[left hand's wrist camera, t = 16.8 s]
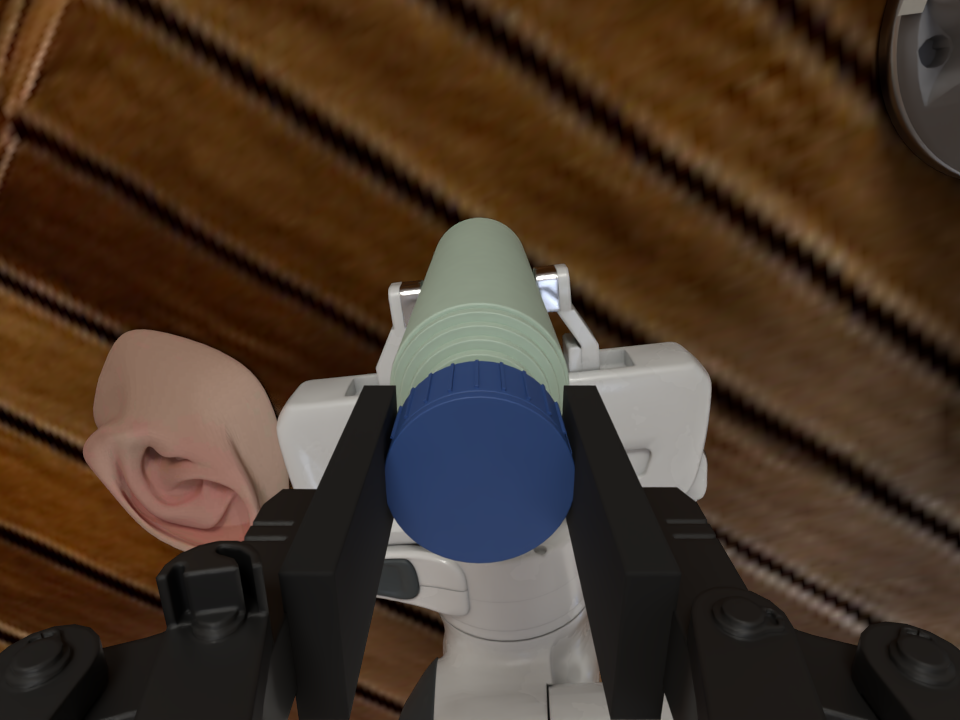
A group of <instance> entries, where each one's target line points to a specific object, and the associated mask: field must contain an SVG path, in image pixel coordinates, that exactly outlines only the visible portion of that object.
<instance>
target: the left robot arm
mask: <svg viewBox="0 0 960 720" xmlns="http://www.w3.org/2000/svg"><path fill="white" fill-rule="evenodd" d="M878 66H879V79H880V85H881V91H882V96H883V99H884V103H885V106H886V109H887V112H888V114H889V117H890V119H891V122H892V124H893V125H894V127H895V129H896V131H897V133H898V134H899V136H900V137H901V138H902V140H903V141H904V143H905V144H906V145H907V146H908V147H909V148H910V149H911V151H912V152H913V153H914V154H915V155H916V156H918V157H919V158H920V159H921V160H922V161H924V162H925V163H926V164H928V165H929V166H931V167H933V168H934V169H936V170H938V171H940V172H942V173H944V174H946V175H948V176H951V177H954V178H957V179H960V0H888V1H887V4H886V8H885V11H884V16H883V21H882V26H881V31H880V40H879V57H878ZM396 416H397V395H396V385H364V386H363V389H362V391H361V393H360V395H359V397H358V399H357V402H356V404H355V406H354V408H353V410H352V413H351V415H350V417H349V419H348V421H347V424H346V426H345V428H344V430H343V432H342V435H341V437H340V439H339V441H338V443H337V446H336V448H335V450H334V452H333V454H332V456H331V459H330V461H329V463H328V465H327V467H326V470H325V472H324V474H323V476H322V478H321V481H320V483H319V485H318V487H317V489H282V490H281V491H280V492H278V493H277V494H276V495H274V496H273V497H272V498H271V499H269V500H268V501H267V502H266V503H264V504H263V506H262V507H261V509H260V511H259V512H258V514H257V516H256V518H255V519H254V521H253V526H250V528H249V530H248V531H247V533H246V535H245V536H244V541H242V542H240V541H215V542H211V543H206V544H202V545H198V546H196V547H194V548H192V549H189V550H187V551H185V552H183V553H181V554H179V555H178V556H177V557H175V558H174V559H172V560H171V561H170V562H168V563H167V564H166V565H165V566H164V567H163V569H162V570H161V571H160V573H159V574H158V576H157V577H156V581H157V585H158V590H159V594H160V598H161V603H162V607H163V612H164V616H165V620H166V625H167V629H166V631H165V632H163V633H160V634H157V635H153V636H150V637H147V638H143V639H139V640H135V641H131V642H127V643H122V644H118V645H114V646H110V647H106V648H102V644H101V641H100V637H99V636H98V635H97V634H96V633H95V632H94V631H93V630H92V629H91V628H90V627H85V626H80V625H76V624H73V625H63V626H54V627H51V628H48V629H45V630H42V631H39V632H36V633H33V634H31V635H29V636H27V637H25V638H23V639H21V640H20V641H18V642H16V643H14V644H12V645H10V646H9V647H7V648H6V649H5V650H4V651H2V652H1V653H0V720H287V719H288V716H289V713H290V710H291V707H292V704H293V701H294V698H295V695H296V702H297V709H298V716H299V720H349V718H350V713H351V709H352V704H353V700H354V695H355V691H356V686H357V682H358V677H359V673H360V668H361V664H362V659H363V655H364V650H365V646H366V641H367V637H368V632H369V628H370V623H371V619H372V614H373V610H374V605H375V601H376V596H377V592H378V587H379V583H380V578H381V574H382V569H383V565H384V560H385V556H386V551H387V547H388V542H389V538H390V533H391V529H392V524H393V520H394V517H393V515H392V514H391V511H390V509H389V507H388V504H387V496H386V480H385V461H386V457H387V454H388V450H389V447H390V443H391V440H392V439H390V436H391V433H392V429H393V426H394V423H395V419H396ZM562 418H563V422H564V425H565V429H566V432H567V437H568V440H569V444H570V447H571V451H572V457H573V461H574V465H575V474H574V490H573V501H572V505H571V507H570V509H569V512H568V514H567V516H566V521H567V526H568V530H569V535H570V539H571V544H572V548H573V553H574V557H575V562H576V566H577V571H578V575H579V580H580V584H581V589H582V593H583V598H584V602H585V607H586V611H587V616H588V620H589V625H590V629H591V634H592V638H593V643H594V647H595V652H596V656H597V661H598V666H599V670H600V675H601V679H602V684H603V688H604V693H605V697H606V702H607V706H608V711H609V715H610V720H661V714H662V707H663V700H664V693H665V696H666V699H667V702H668V705H669V708H670V711H671V714H672V717H673V720H960V650H959V649H958V648H956V647H955V646H954V645H953V644H951V643H949V642H948V641H946V640H944V639H942V638H940V637H938V636H937V635H935V634H933V633H931V632H929V631H926V630H923V629H920V628H917V627H914V626H911V625H908V624H902V623H893V622H882V623H877V624H872V625H869V626H868V627H867V628H866V629H865V630H864V631H863V632H862V633H861V636H860V639H859V643H858V646H857V645H852V644H848V643H844V642H840V641H835V640H831V639H827V638H823V637H819V636H814V635H811V634H808V633H805V632H802V631H798V630H796V629H794V628H793V626H792V624H791V623H790V621H789V620H788V618H787V616H786V615H785V613H784V612H783V611H782V610H780V609H779V608H778V607H777V606H776V605H774V604H773V603H772V602H771V601H770V600H768V599H766V598H764V597H762V596H760V595H758V594H756V593H754V592H752V591H748V589H747V588H746V586H745V584H744V582H743V581H742V579H741V577H740V576H739V574H738V572H737V570H736V569H735V567H734V565H733V564H732V562H731V560H730V559H729V557H728V555H727V553H726V552H725V550H724V548H723V547H722V545H721V543H720V541H719V540H718V539H716V535H715V533H714V531H713V529H712V528H711V526H710V524H707V519H706V517H705V516H704V514H703V512H702V511H701V509H700V507H699V505H698V504H697V502H696V501H694V500H693V499H692V498H690V497H689V496H688V495H687V494H685V493H684V492H683V491H681V490H680V489H679V488H678V487H642V486H641V484H640V481H639V479H638V477H637V475H636V473H635V470H634V468H633V466H632V464H631V462H630V460H629V457H628V455H627V453H626V451H625V449H624V446H623V444H622V442H621V440H620V438H619V435H618V433H617V431H616V429H615V427H614V424H613V422H612V420H611V418H610V416H609V413H608V411H607V409H606V407H605V405H604V402H603V400H602V398H601V396H600V394H599V392H598V389H597V387H596V385H564V388H563V408H562Z"/></svg>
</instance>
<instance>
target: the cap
mask: <svg viewBox="0 0 960 720" xmlns="http://www.w3.org/2000/svg"><path fill="white" fill-rule="evenodd" d="M390 439H392V440H391V443H390V447H389V450H388V454H387V457H386V461H385V480H386V496H387V504H388V507H389V509H390V511H391V514H392V515H393V517H394V519H395V520H396V522H397V524H398V525H399V526H400V527H401V529H402V530H403V531H404V532H405V533H406V534H407V535H408V536H409V537H410V538H411V539H412V540H413V541H415V542H416V543H417V544H419V545H420V546H422V547H423V548H425V549H427V550H428V551H430V552H432V553H434V554H437V555H439V556H441V557H444V558H447V559H451V560H454V561H460V562H465V563H493V562H500V561H504V560H508V559H512V558H515V557H518V556H520V555H523V554H525V553H527V552H529V551H531V550H533V549H535V548H536V547H537V546H539V545H540V544H542V543H543V542H545V541H546V540H547V539H548V538H549V537H550V536H551V535H552V534H553V533H554V532H555V531H556V530H557V529H558V528H559V526H560V525H561V524H562V522H563V521H564V519H565V518H566V516H567V514H568V512H569V509H570V507H571V505H572V501H573V490H574V474H575V465H574V461H573V457H572V451H571V447H570V444H569V440H568V437H567V432H566V429H565V425H564V422H563V418H562V415H561V411H560V408H559V404H558V402H557V401H556V402H554V400H553V399H552V397H551V396H550V394H549V393H548V392H547V391H546V388H545V385H544V384H542V385H541V384H540V383H539V382H537V381H536V380H535V379H534V378H532V377H531V376H529V375H528V374H526V371H524V370H523V371H521V370H519V369H516V368H514V367H511V366H508V365H505V364H504V363H503V362H500V363H496V362H490V361H479V360H475V361H469V362H463V363H457V364H454V363H452V364H451V366H448V367H445V368H443V369H441V370H438V371H436V372H435V373H433V374H432V373H430V374H429V375H428V377H427V378H426V379H424V380H423V381H422V382H421V383H419V384H418V385H417V386H416V387H415V388H414V387H413V388H412V389H411V391H410V395H409V396H408V397H407V399H406V400H405V402H404V404H403V406H399V409H398V412H397V416H396V419H395V423H394V426H393V429H392V433H391V436H390Z"/></svg>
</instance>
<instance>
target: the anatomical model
mask: <svg viewBox="0 0 960 720" xmlns="http://www.w3.org/2000/svg"><path fill="white" fill-rule="evenodd" d="M93 413H94V419H95V423H96V425H97V427H98V430H96V431H95V432H94V433H93V434H92V435H91V436H90V437H89V438H88V439H87V441H86V443H85V445H84V448H83V455H84V458H85V460H86V462H87V464H88V465H89V466H90V468H91V469H92V470H93V472H94V473H95V474H96V475H97V476H98V478H99V479H100V480H101V481H102V482H103V484H104V485H105V486H106V487H107V488H108V490H109V491H110V492H111V493H112V495H113V496H114V497H115V498H116V499H117V501H118V502H119V503H120V504H121V505H122V506H123V508H124V509H125V510H126V511H127V512H128V513H129V514H130V516H131V517H132V518H133V519H134V520H135V521H136V522H137V523H138V524H139V525H141V526H142V527H143V528H144V529H145V530H147V531H148V532H149V533H150V534H152V535H153V536H155V537H156V538H158V539H159V540H161V541H163V542H165V543H167V544H169V545H171V546H173V547H175V548H177V549H180V550H182V551H187V550H189V549H192V548H194V547H196V546H198V545H202V544H206V543H211V542H215V541H240V542H242V541H244V536H245V535H246V533H247V531H248V530H249V528H250V526H253V521H254V519H255V518H256V516H257V514H258V512H259V511H260V509H261V507H262V506H263V504H264V503H266V502H267V501H268V500H269V499H271V498H272V497H273V496H274V495H276V494H277V493H278V492H280V491H281V490H282V489H289V475H288V472H287V469H286V466H285V463H284V460H283V456H282V453H281V449H280V446H279V441H278V436H277V429H276V428H277V419H276V416H275V413H274V410H273V408H272V405H271V403H270V400H269V398H268V396H267V394H266V392H265V390H264V388H263V386H262V385H261V383H260V382H259V381H258V379H257V378H256V377H255V376H254V375H253V373H252V372H251V371H249V370H248V369H247V368H246V367H245V366H244V365H242V364H241V363H239V362H238V361H236V360H235V359H233V358H232V357H230V356H228V355H226V354H224V353H222V352H221V351H219V350H216V349H214V348H212V347H209V346H207V345H205V344H202V343H199V342H196V341H193V340H190V339H187V338H184V337H180V336H176V335H173V334H169V333H164V332H159V331H154V330H145V329H140V330H132V331H128V332H126V333H124V334H123V335H121V336H120V337H119V338H118V339H117V341H116V342H115V343H114V345H113V347H112V348H111V350H110V352H109V354H108V356H107V359H106V362H105V364H104V367H103V369H102V372H101V374H100V377H99V380H98V384H97V388H96V394H95V400H94V407H93Z"/></svg>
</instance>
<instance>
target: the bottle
mask: <svg viewBox="0 0 960 720" xmlns="http://www.w3.org/2000/svg"><path fill="white" fill-rule="evenodd" d="M475 360H479V361H490V362H496V363H500V362H503V363H504V364H505V365H508V366H511V367H514V368H516V369H519V370H521V371H523V370H524V371H526V374H528V375H529V376H531V377H532V378H534V379H535V380H536V381H537V382H539V383H540V384H541V385H542V384H544V385H545V388H546V391H547V392H548V393H549V394H550V396H551V397H552V399H553V400H554V402H556V401H557V402H558V404H559V408H560V411H561V415H562V408H563V388H564V385H569V374H568V368H567V364H566V361H565V358H564V355H563V353H562V350H561V347H560V345H559V342H558V339H557V337H556V334H555V331H554V329H553V326H552V323H551V321H550V318H549V315H548V312H547V310H546V307H545V304H544V302H543V299H542V296H541V294H540V291H539V288H538V286H537V283H536V280H535V278H534V275H533V272H532V270H531V267H530V264H529V262H528V259H527V256H526V254H525V251H524V248H523V246H522V244H521V242H520V240H519V238H518V237H517V236H516V234H515V233H514V232H513V231H512V230H511V229H510V228H508V227H507V226H506V225H504V224H502V223H500V222H498V221H495V220H492V219H488V218H472V219H468V220H464V221H462V222H459V223H457V224H456V225H454V226H453V227H451V228H450V229H449V230H448V231H447V232H446V233H445V234H444V235H443V237H442V238H441V239H440V241H439V243H438V245H437V248H436V250H435V253H434V256H433V258H432V261H431V264H430V266H429V269H428V272H427V274H426V277H425V280H424V282H423V285H422V287H421V290H420V293H419V295H418V298H417V301H416V303H415V306H414V309H413V311H412V314H411V317H410V319H409V322H408V325H407V327H406V330H405V333H404V335H403V338H402V341H401V343H400V346H399V349H398V351H397V354H396V357H395V359H394V362H393V366H392V370H391V377H390V385H396V395H397V412H398V409H399V406H403V404H404V402H405V400H406V399H407V397H408V396H409V395H410V391H411V389H412V388H413V387H414V388H415V387H416V386H417V385H418V384H419V383H421V382H422V381H423V380H424V379H426V378H427V377H428V375H429V374H430V373H432V374H433V373H435V372H436V371H438V370H441V369H443V368H445V367H448V366H451V364H452V363H454V364H457V363H463V362H469V361H475Z"/></svg>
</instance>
